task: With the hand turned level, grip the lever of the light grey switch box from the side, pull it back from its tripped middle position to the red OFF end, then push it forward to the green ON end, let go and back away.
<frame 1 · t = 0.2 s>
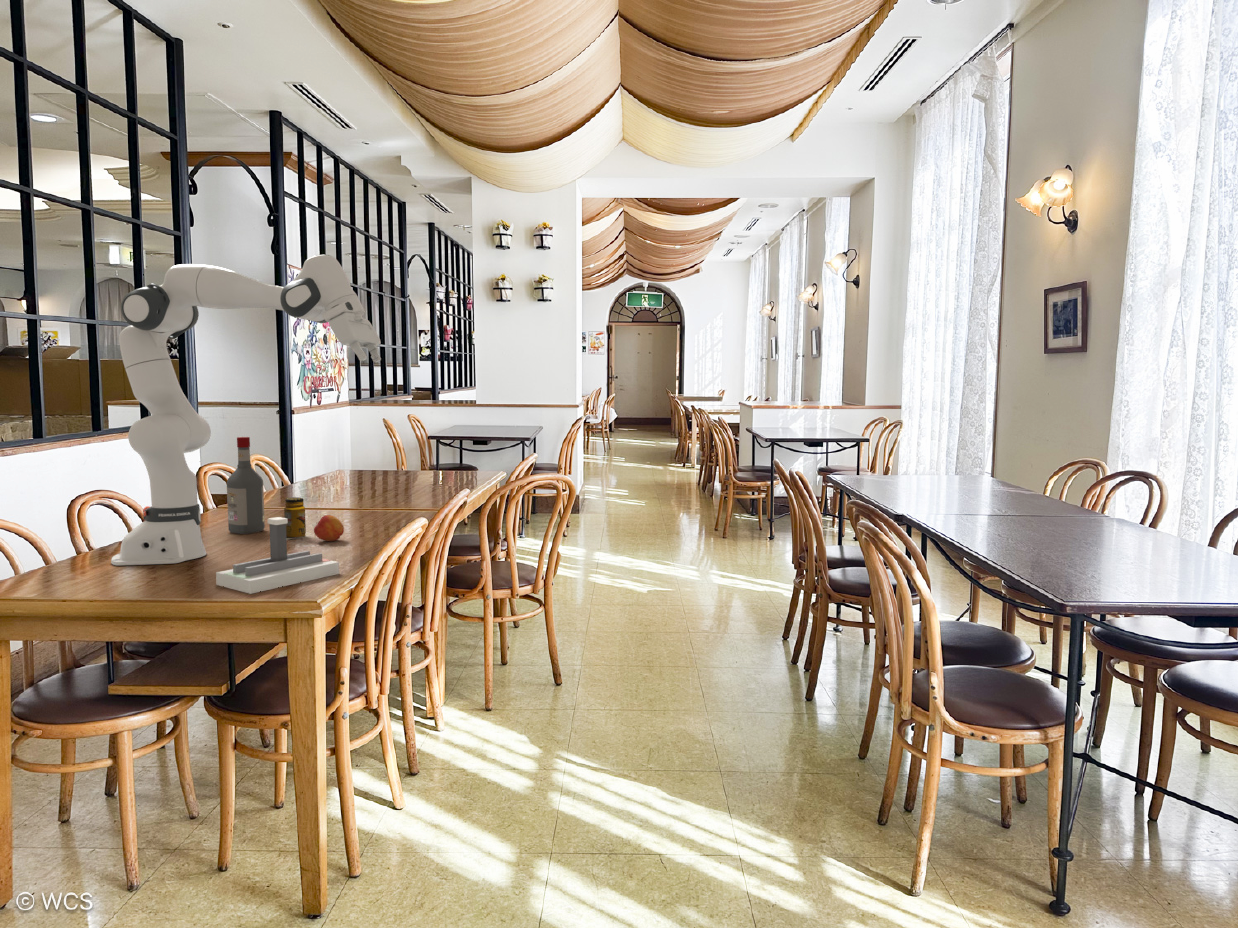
hand: (371, 360, 215), 54 cm above the table, tool tilted 25°, fingers open, 8 cm apart
condiment: (292, 537, 255), on the table
liquor: (246, 531, 264), on the table
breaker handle: (278, 542, 201), point 9 cm above the table, slide at 6.0 cm
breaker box: (279, 579, 202), on the table
fruit: (329, 541, 249), on the table
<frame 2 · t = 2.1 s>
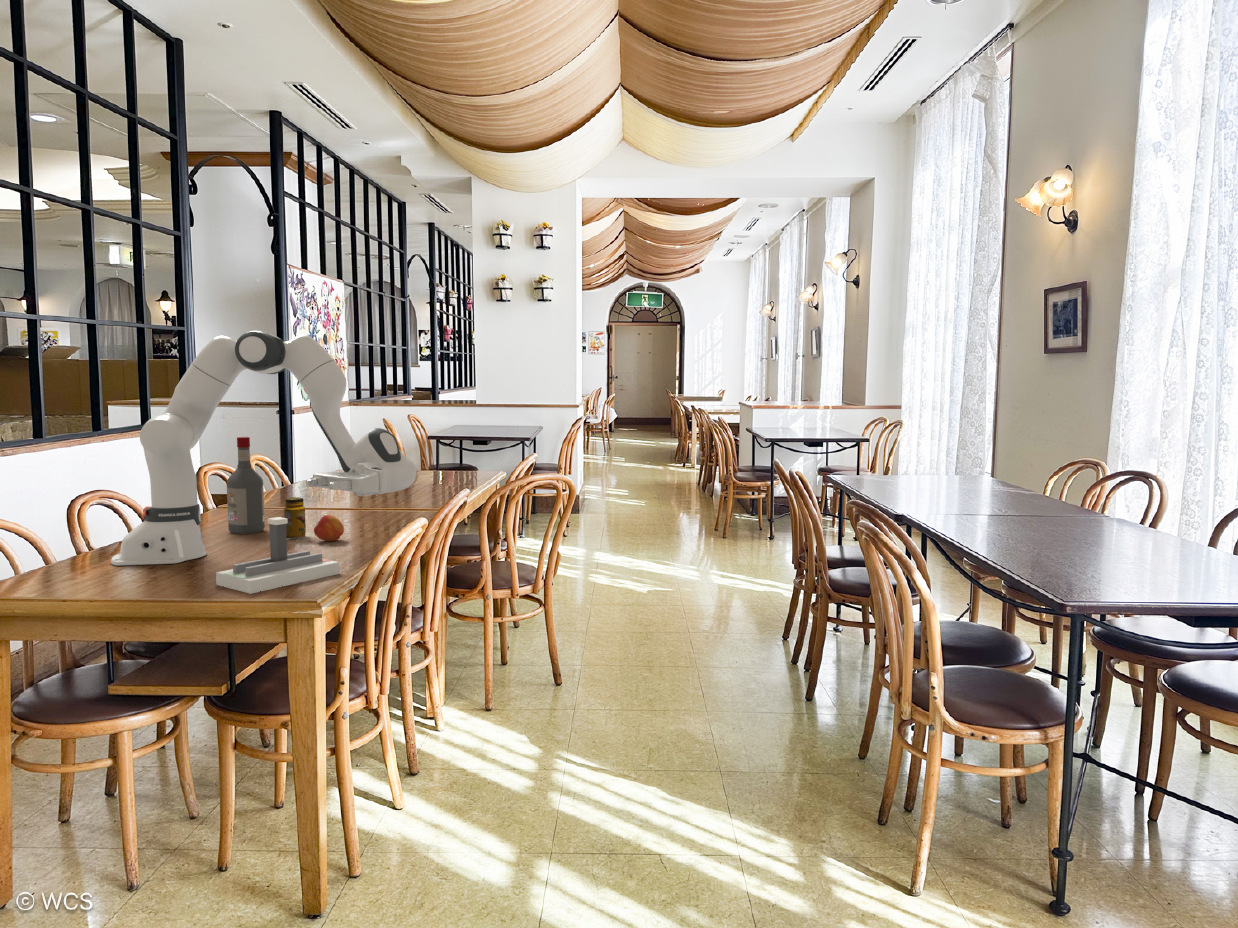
hand: (319, 484, 210), 22 cm above the table, tool horizontal, fingers open, 8 cm apart
nothing on the table moved.
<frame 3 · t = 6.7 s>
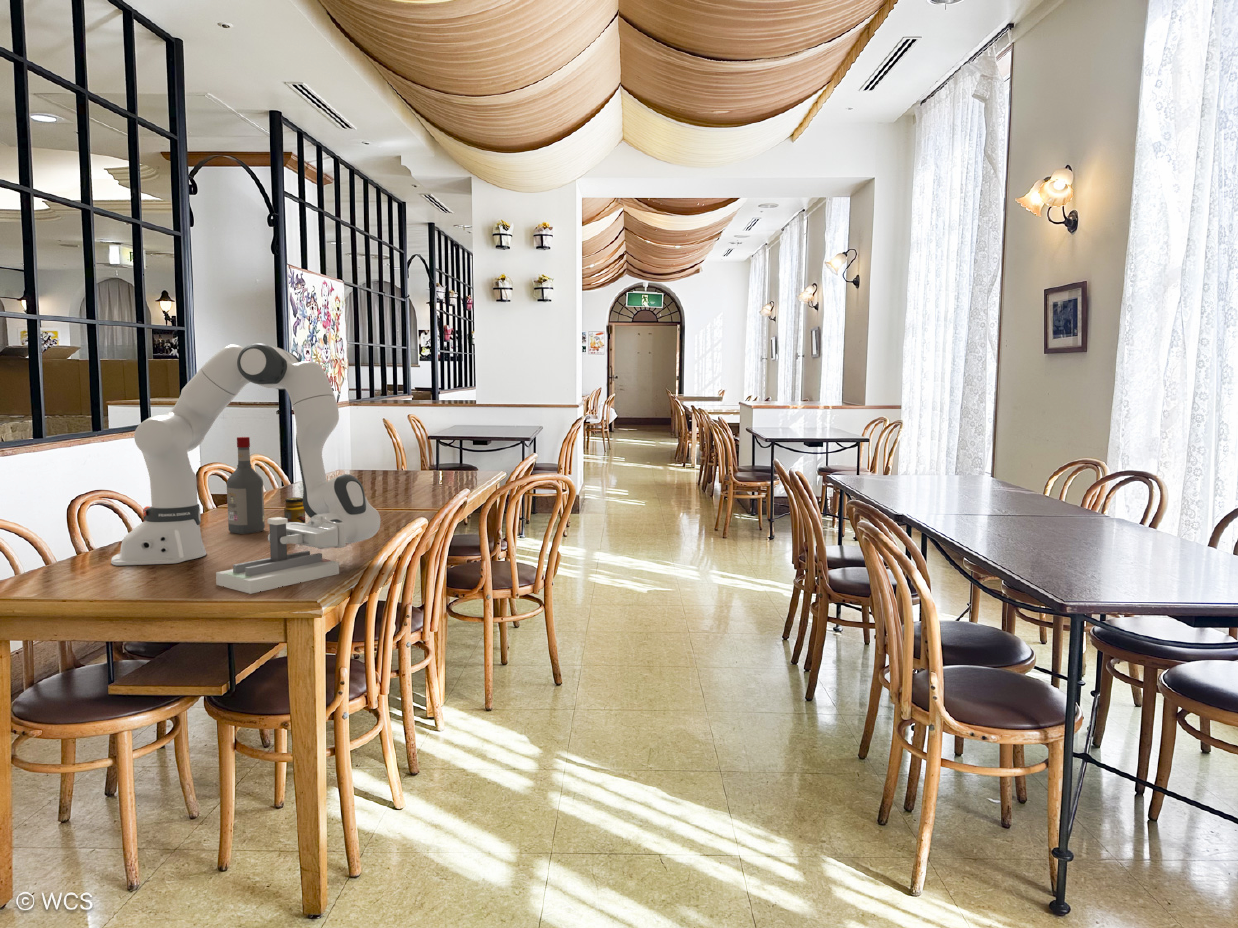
hand: (274, 539, 200), 10 cm above the table, tool horizontal, fingers closed on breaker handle, 3 cm apart
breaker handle: (278, 542, 201), point 9 cm above the table, slide at 6.0 cm, touching gripper
everything else where it was.
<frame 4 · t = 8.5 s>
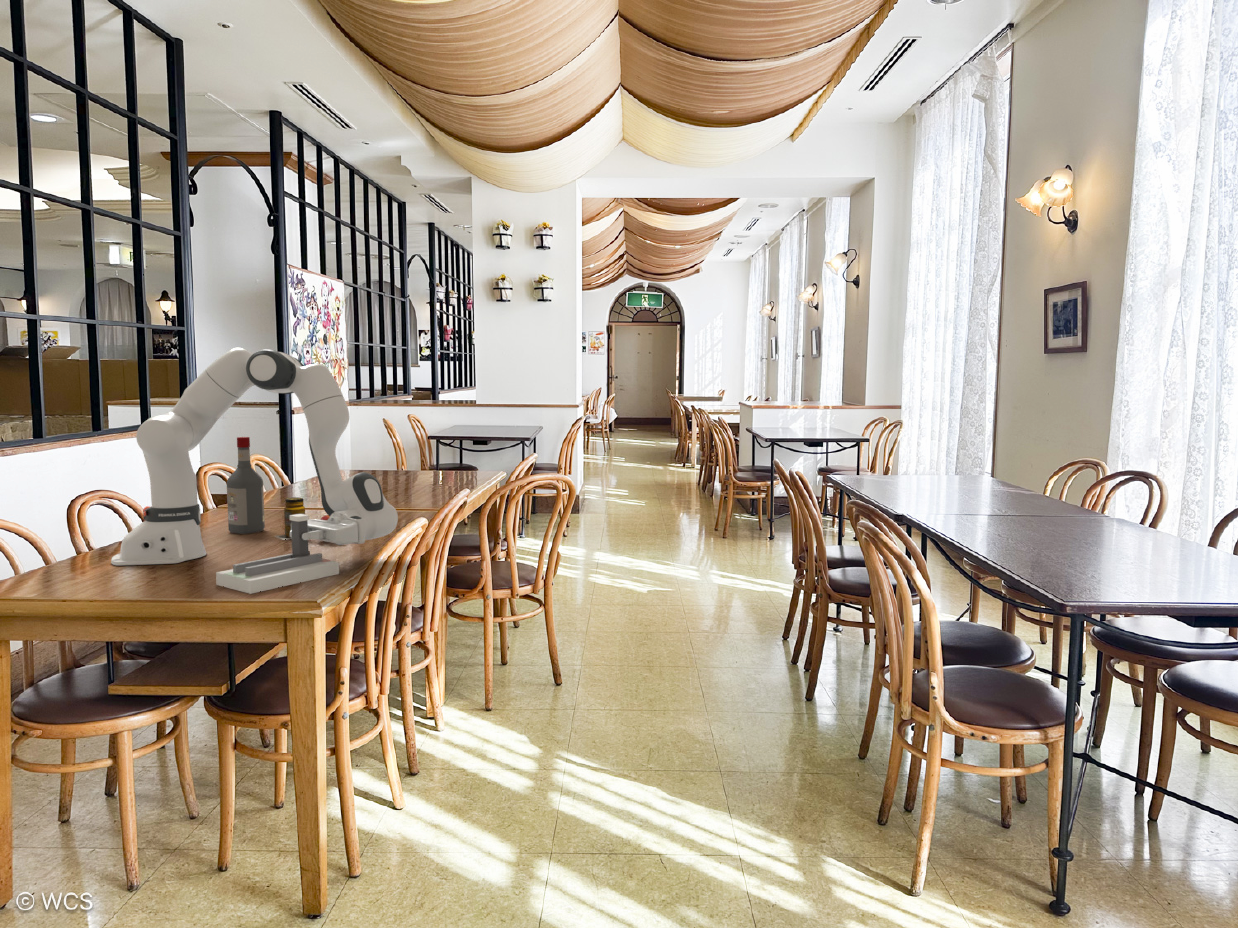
hand: (296, 535, 205), 10 cm above the table, tool horizontal, fingers closed on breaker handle, 3 cm apart
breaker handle: (299, 538, 206), point 9 cm above the table, slide at 0.0 cm, touching gripper
everything else where it was.
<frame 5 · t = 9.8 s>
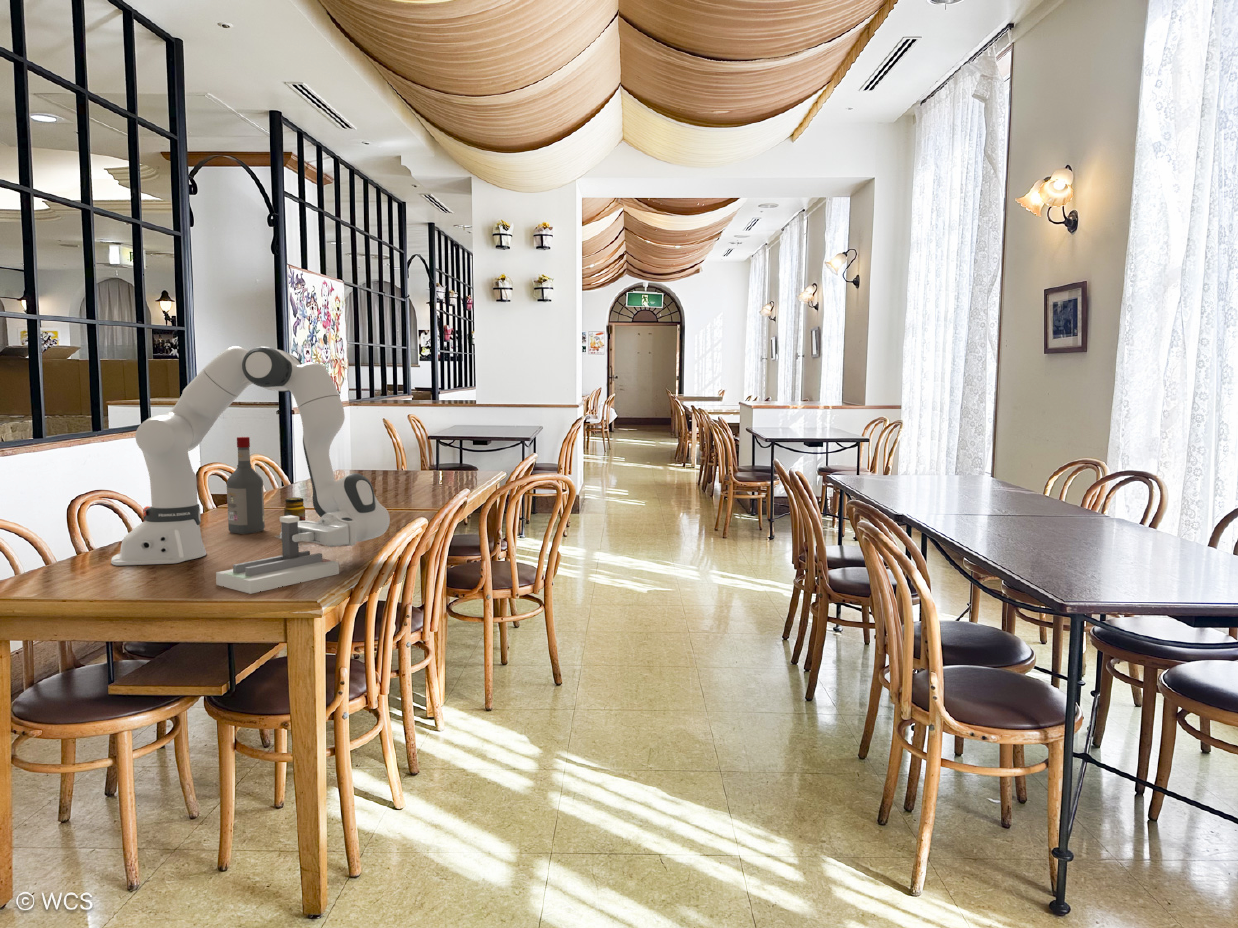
hand: (286, 537, 203), 10 cm above the table, tool horizontal, fingers closed on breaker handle, 3 cm apart
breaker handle: (290, 540, 204), point 9 cm above the table, slide at 2.8 cm, touching gripper
everything else where it was.
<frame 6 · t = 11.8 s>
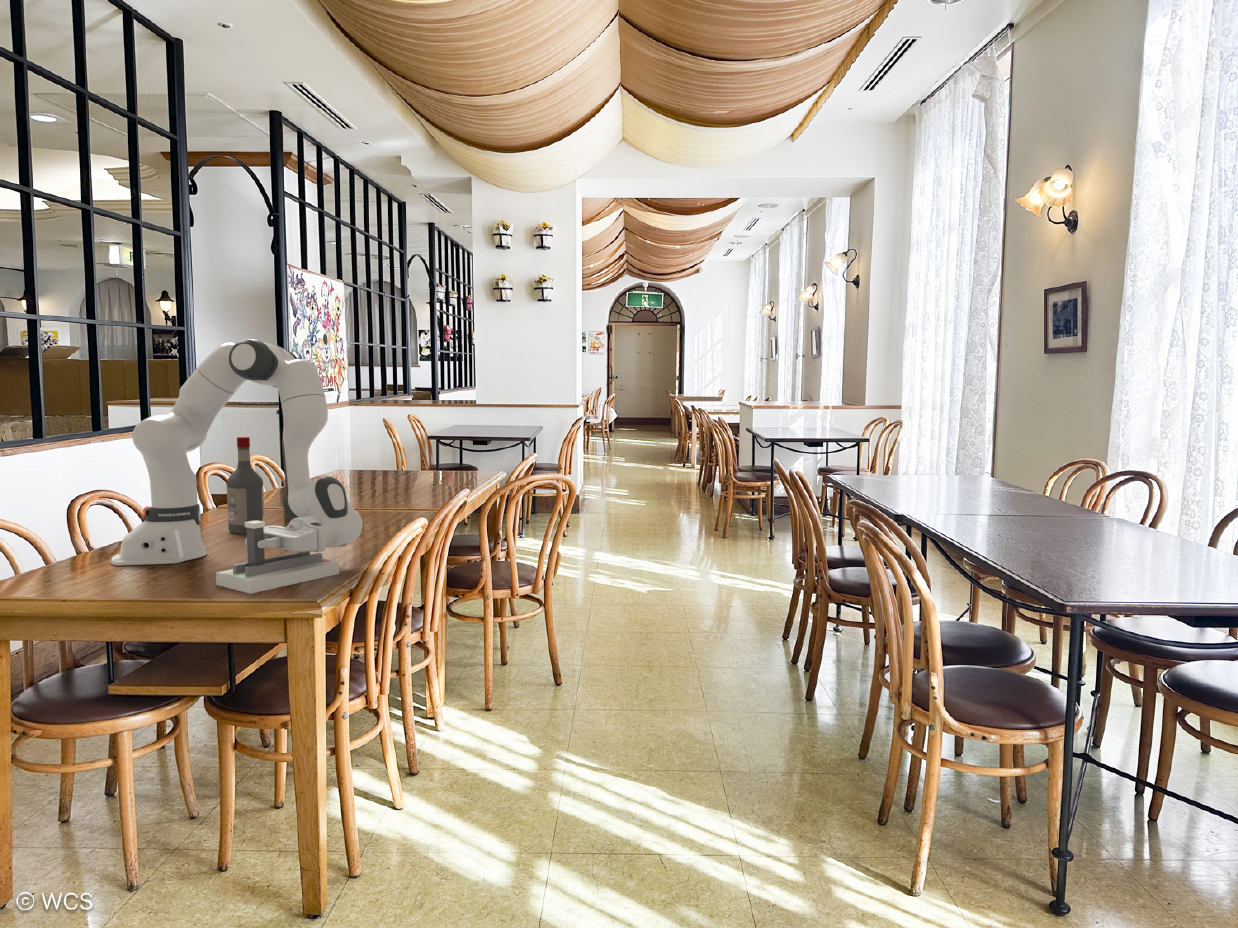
hand: (252, 543, 196), 10 cm above the table, tool horizontal, fingers closed on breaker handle, 3 cm apart
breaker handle: (255, 546, 196), point 9 cm above the table, slide at 11.9 cm, touching gripper
everything else where it was.
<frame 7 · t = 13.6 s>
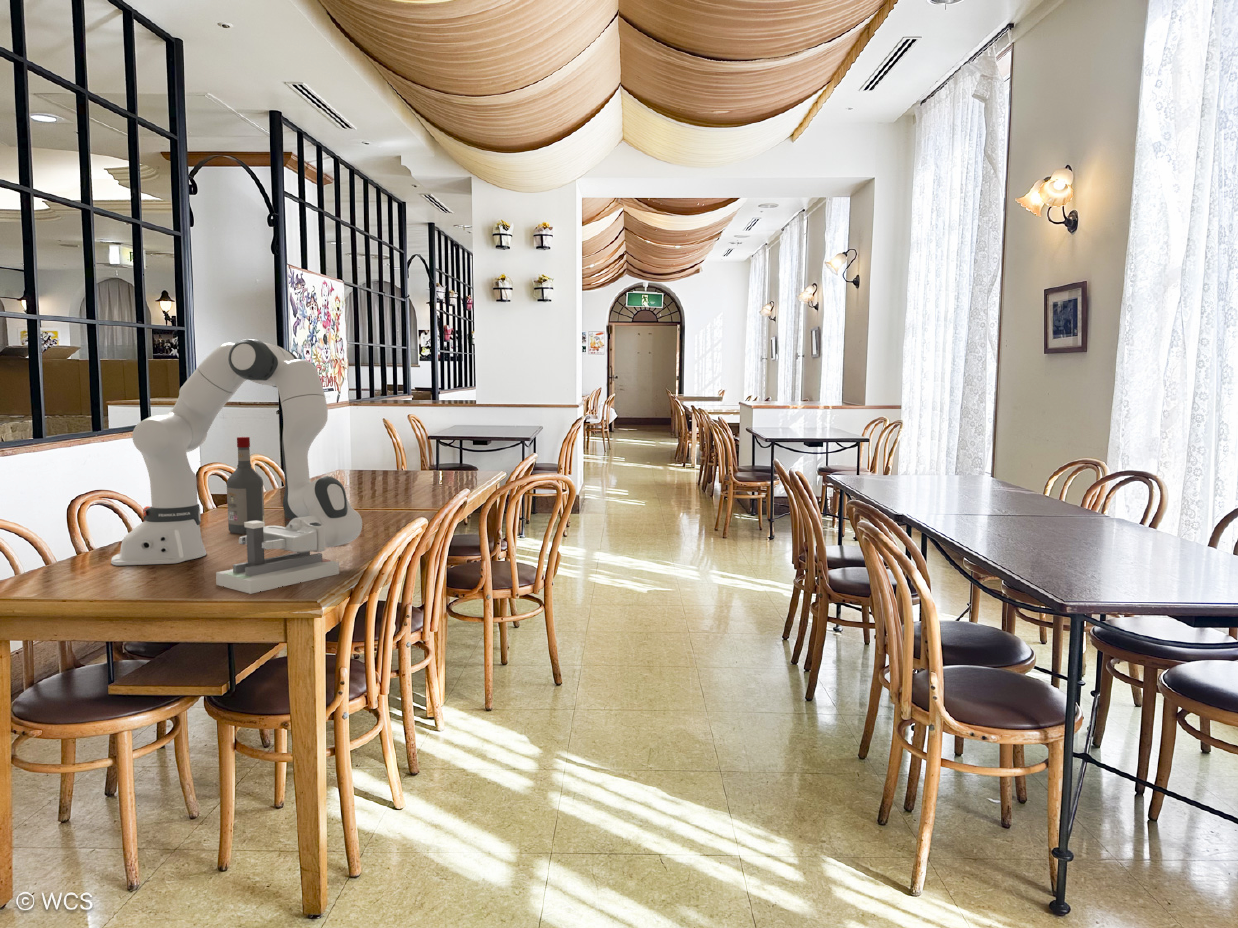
hand: (251, 543, 196), 10 cm above the table, tool horizontal, fingers open, 8 cm apart
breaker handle: (255, 546, 196), point 9 cm above the table, slide at 12.0 cm
everything else where it was.
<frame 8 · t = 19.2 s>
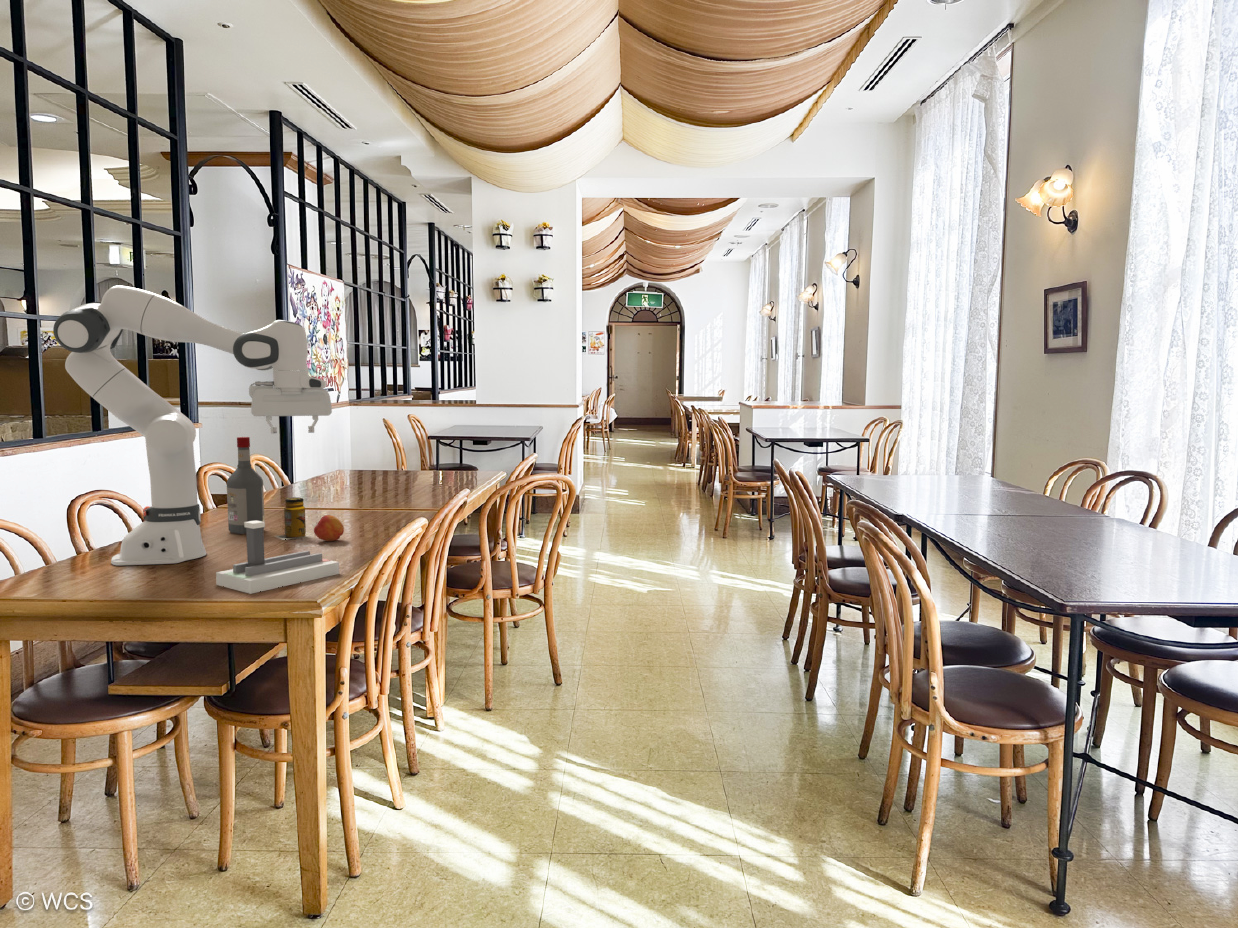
hand: (292, 433, 223), 34 cm above the table, tool pointing down, fingers open, 8 cm apart
nothing on the table moved.
at the end: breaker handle slide at 12.0 cm; the gripper is holding nothing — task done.
